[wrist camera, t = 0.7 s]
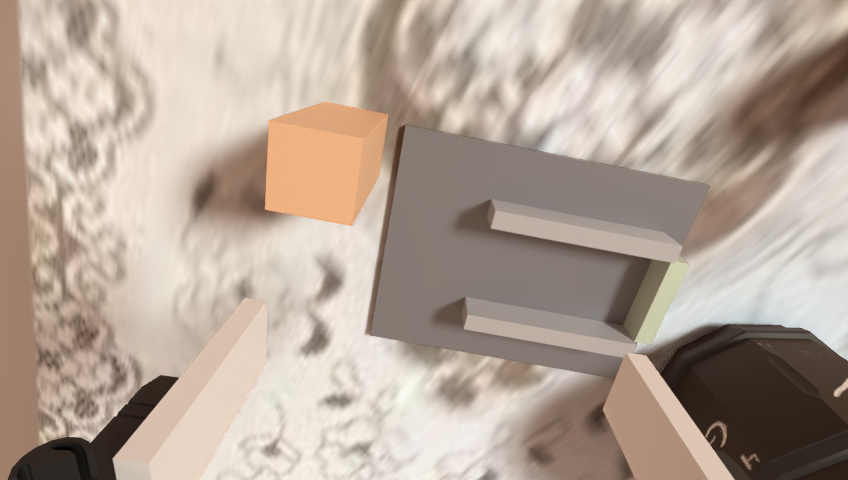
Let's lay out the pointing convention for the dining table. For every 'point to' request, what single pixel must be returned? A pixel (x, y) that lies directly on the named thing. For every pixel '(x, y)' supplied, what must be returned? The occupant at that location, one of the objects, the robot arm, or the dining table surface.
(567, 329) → the end holder
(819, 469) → the wooden barrel
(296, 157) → the block
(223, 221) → the dining table surface
